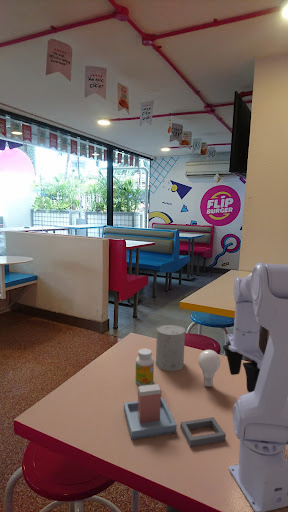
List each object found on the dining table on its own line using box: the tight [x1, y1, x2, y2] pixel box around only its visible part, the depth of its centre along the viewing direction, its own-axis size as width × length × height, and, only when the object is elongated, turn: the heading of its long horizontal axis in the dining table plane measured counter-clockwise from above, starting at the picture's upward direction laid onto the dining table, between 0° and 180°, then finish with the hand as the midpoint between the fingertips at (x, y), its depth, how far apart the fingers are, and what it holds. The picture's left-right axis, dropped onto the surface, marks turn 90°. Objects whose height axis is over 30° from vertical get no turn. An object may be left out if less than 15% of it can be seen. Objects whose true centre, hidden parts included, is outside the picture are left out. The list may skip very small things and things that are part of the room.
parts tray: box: [123, 397, 178, 441], centre depth 73 cm, size 11×11×2 cm
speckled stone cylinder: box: [155, 323, 186, 372], centre depth 101 cm, size 10×10×12 cm
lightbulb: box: [197, 349, 222, 388], centre depth 88 cm, size 6×6×11 cm
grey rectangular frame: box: [179, 416, 226, 447], centre depth 69 cm, size 6×8×2 cm
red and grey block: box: [137, 383, 162, 423], centre depth 73 cm, size 2×5×8 cm, turn 103°
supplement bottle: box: [135, 348, 155, 386], centre depth 90 cm, size 5×5×10 cm
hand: (242, 382), depth 72 cm, fingers open, 7 cm apart
